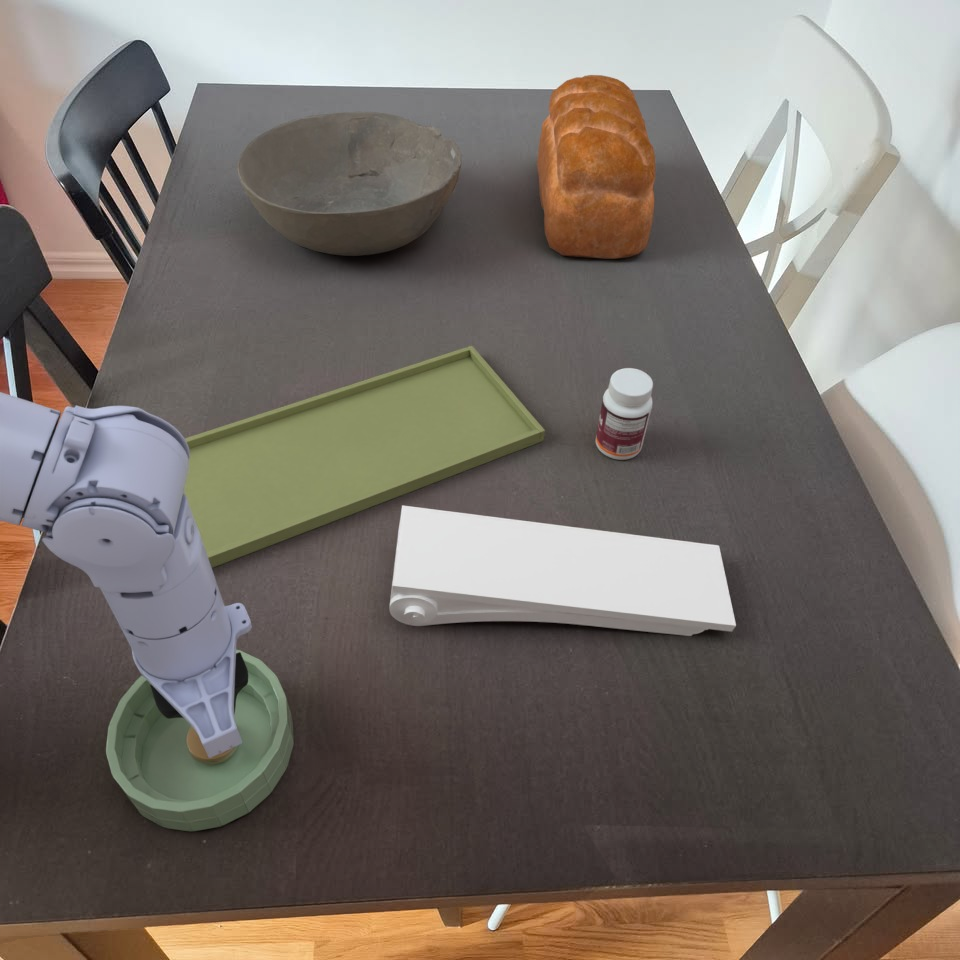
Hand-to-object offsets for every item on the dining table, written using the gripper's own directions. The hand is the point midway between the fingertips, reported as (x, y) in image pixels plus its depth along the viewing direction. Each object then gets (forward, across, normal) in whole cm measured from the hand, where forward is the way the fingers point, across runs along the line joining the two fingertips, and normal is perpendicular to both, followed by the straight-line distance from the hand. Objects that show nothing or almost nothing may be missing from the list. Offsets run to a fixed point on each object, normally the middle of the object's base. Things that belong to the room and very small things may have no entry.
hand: (214, 708), depth 58 cm
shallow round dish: (+5, 0, +1) cm, 5 cm away
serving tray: (+5, +24, -18) cm, 30 cm away
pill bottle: (+5, +12, -44) cm, 46 cm away
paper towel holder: (+4, 0, +1) cm, 4 cm away
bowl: (+5, +62, -37) cm, 73 cm away
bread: (+5, +52, -68) cm, 85 cm away
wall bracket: (+5, 0, -29) cm, 30 cm away
